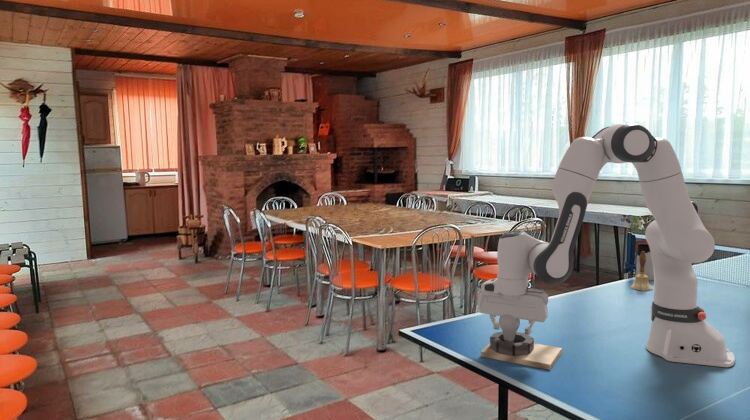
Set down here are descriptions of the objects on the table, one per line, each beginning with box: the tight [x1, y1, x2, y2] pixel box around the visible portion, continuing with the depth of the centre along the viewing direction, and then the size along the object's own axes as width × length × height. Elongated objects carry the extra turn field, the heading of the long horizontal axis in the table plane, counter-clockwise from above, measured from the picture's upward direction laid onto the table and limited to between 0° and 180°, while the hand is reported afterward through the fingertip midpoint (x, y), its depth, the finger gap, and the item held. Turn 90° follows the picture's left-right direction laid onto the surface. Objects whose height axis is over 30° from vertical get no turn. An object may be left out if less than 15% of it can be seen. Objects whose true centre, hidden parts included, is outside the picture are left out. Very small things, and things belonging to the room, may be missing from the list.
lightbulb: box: [498, 314, 521, 343], centre depth 160 cm, size 6×6×11 cm
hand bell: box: [630, 251, 654, 292], centre depth 229 cm, size 8×8×16 cm
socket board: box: [480, 331, 563, 371], centre depth 159 cm, size 20×14×4 cm
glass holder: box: [634, 243, 654, 281], centre depth 249 cm, size 9×14×15 cm, turn 171°
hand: (511, 331), depth 160 cm, fingers open, 8 cm apart
